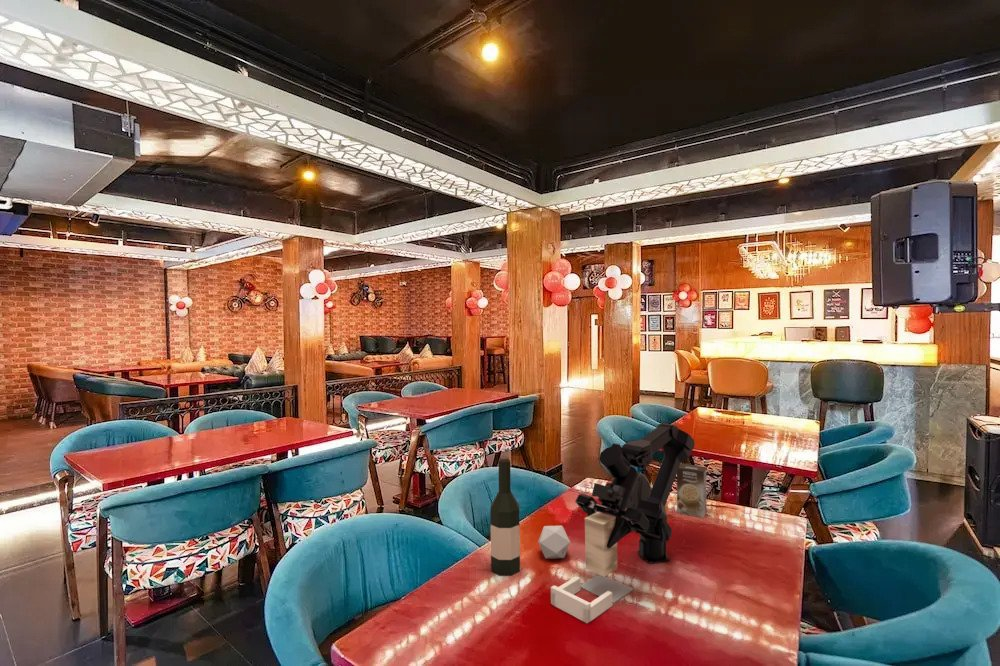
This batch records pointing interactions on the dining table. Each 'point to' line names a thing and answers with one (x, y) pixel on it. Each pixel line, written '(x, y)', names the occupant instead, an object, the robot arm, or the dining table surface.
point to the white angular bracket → (579, 601)
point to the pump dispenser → (640, 492)
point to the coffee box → (691, 490)
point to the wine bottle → (505, 526)
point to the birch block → (600, 544)
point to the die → (554, 542)
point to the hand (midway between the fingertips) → (597, 543)
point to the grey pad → (606, 587)
